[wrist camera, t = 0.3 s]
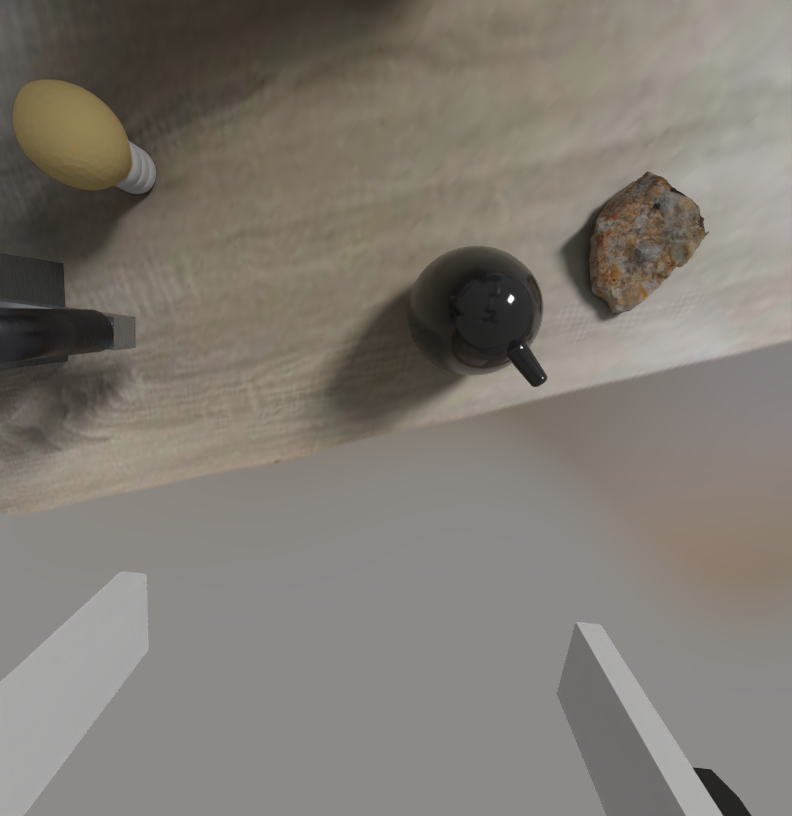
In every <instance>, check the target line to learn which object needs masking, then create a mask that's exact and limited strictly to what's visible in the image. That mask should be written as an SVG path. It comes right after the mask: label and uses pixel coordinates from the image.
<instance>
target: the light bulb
mask: <svg viewBox="0 0 792 816" xmlns="http://www.w3.org/2000/svg"><path fill="white" fill-rule="evenodd" d="M13 125H14V130H15V135H16V138H17V140H18V143H19V145H20V147H21V148H22V150H23V151H24V153H25V154H26V155H27V156H28V157H29V158H30V160H31V161H32V162H33V163H34V164H35V165H36V166H38V167H39V168H40V169H41V170H42V171H44V172H45V173H46V174H48V175H49V176H51V177H52V178H54V179H56V180H58V181H60V182H62V183H63V184H66V185H69V186H71V187H74V188H78V189H82V190H101V189H106V188H109V187H111V186H113V185H114V186H116V187H118V188H120V189H122V190H125V191H127V192H129V193H132V194H143V193H145V192H147V191H149V190H150V189H151V188H152V186H153V185H154V182H155V179H156V169H155V165H154V163H153V161H152V159H151V157H150V156H149V155H148V154H147V153H146V152H145V151H144V150H143V149H141V148H139V147H138V146H136V145H135V144H133V143H132V142H130V141H129V140H128V137H127V135H126V132H125V130H124V128H123V126H122V124H121V123H120V121H119V119H118V118H117V117H116V115H115V114H114V113H113V112H112V111H111V109H110V108H109V107H108V106H107V105H106V104H105V103H104V102H102V101H101V100H100V99H99V98H98V97H97V96H95V95H94V94H92V93H90V92H89V91H87V90H85V89H84V88H82V87H80V86H77V85H74V84H72V83H68V82H65V81H61V80H49V79H44V80H37V81H32V82H30V83H27V84H26V85H25V86H23V87H22V88H21V89H20V91H19V93H18V95H17V96H16V100H15V103H14V108H13Z"/></svg>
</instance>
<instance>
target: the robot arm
mask: <svg viewBox="0 0 792 816" xmlns="http://www.w3.org/2000/svg"><path fill="white" fill-rule="evenodd" d="M148 642H149V641H148V608H147V576H146V574H143V573H133V572H125V571H121V572H119V573H118V574H117V575H116V576H115V577H114V578H113V579H112V580H111V581H110V582H109V583H107V584H106V585H105V586H104V587H103V588H102V589H101V590H100V591H99V592H98V593H96V594H95V595H94V596H93V597H92V598H91V599H90V600H89V601H88V602H87V603H86V604H85V605H83V606H82V607H81V608H80V609H79V610H78V611H77V612H76V613H75V614H74V615H72V617H70V618H69V619H68V620H67V621H66V622H65V623H64V624H63V625H62V626H61V627H59V628H58V629H57V630H56V631H55V632H54V633H53V634H52V635H51V636H50V637H49V638H47V639H46V640H45V641H44V642H43V643H42V644H41V645H40V646H39V647H38V648H37V649H36V650H34V651H33V652H32V653H31V654H30V655H29V656H28V657H27V658H26V659H25V660H23V661H22V662H21V663H20V664H19V665H18V666H17V667H16V668H15V669H14V670H13V671H11V672H10V673H9V674H8V675H7V676H6V677H5V678H4V679H3V680H2V681H1V682H0V816H24V814H25V813H26V812H27V811H28V809H29V808H30V807H31V805H32V804H33V803H34V801H35V800H36V799H37V797H38V796H39V795H40V793H41V792H42V790H43V789H44V788H45V787H46V785H47V784H48V783H49V781H50V780H51V779H52V777H53V776H54V775H55V773H56V772H57V771H58V769H59V768H60V766H61V765H62V764H63V763H64V761H65V760H66V758H67V757H68V756H69V755H70V753H71V752H72V751H73V749H74V748H75V747H76V745H77V744H78V743H79V741H80V740H81V739H82V737H83V736H84V735H85V733H86V732H87V731H88V729H89V728H90V727H91V725H92V724H93V723H94V722H95V720H96V719H97V717H98V716H99V715H100V714H101V712H102V711H103V709H104V708H105V707H106V706H107V704H108V703H109V702H110V700H111V699H112V698H113V696H114V695H115V694H116V692H117V691H118V690H119V688H120V687H121V686H122V684H123V683H124V682H125V680H126V679H127V678H128V676H129V675H130V674H131V672H132V671H133V670H134V668H135V667H136V666H137V664H138V663H139V662H140V660H141V659H142V658H143V656H144V655H145V654H146V652H147V651H148V650H149V643H148ZM557 695H558V698H559V700H560V703H561V705H562V708H563V710H564V713H565V715H566V717H567V720H568V722H569V725H570V727H571V730H572V732H573V735H574V737H575V739H576V742H577V744H578V747H579V749H580V752H581V754H582V757H583V759H584V761H585V764H586V766H587V769H588V771H589V774H590V776H591V778H592V781H593V783H594V786H595V788H596V791H597V793H598V795H599V798H600V801H601V803H602V805H603V808H604V810H605V813H606V815H607V816H751V815H750V813H749V812H748V810H747V809H746V807H745V806H744V804H743V803H742V802H741V800H740V799H739V797H738V796H737V795H736V794H735V793H734V792H733V791H732V790H731V789H730V788H729V787H728V786H727V785H726V784H725V783H724V782H723V781H722V780H721V779H720V778H719V777H718V776H717V775H716V774H715V773H714V772H713V771H712V770H711V769H702V768H693V767H692V766H691V765H690V763H689V762H688V760H687V759H686V757H685V756H684V754H683V753H682V751H681V749H680V748H679V746H678V745H677V743H676V742H675V740H674V739H673V737H672V735H671V734H670V732H669V731H668V729H667V727H666V726H665V724H664V723H663V721H662V720H661V718H660V717H659V715H658V713H657V712H656V710H655V709H654V707H653V706H652V704H651V703H650V701H649V700H648V698H647V696H646V695H645V693H644V692H643V690H642V689H641V687H640V685H639V684H638V682H637V681H636V679H635V678H634V676H633V675H632V673H631V672H630V670H629V668H628V667H627V665H626V664H625V662H624V660H623V659H622V657H621V656H620V654H619V653H618V651H617V650H616V648H615V646H614V645H613V643H612V642H611V640H610V639H609V637H608V636H607V634H606V632H605V631H604V629H603V628H602V626H601V625H599V624H590V623H581V622H576V624H575V627H574V631H573V635H572V638H571V642H570V646H569V650H568V654H567V657H566V661H565V665H564V669H563V672H562V676H561V680H560V684H559V687H558V691H557Z"/></svg>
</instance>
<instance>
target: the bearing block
mask: <svg viewBox="0 0 792 816" xmlns="http://www.w3.org/2000/svg"><path fill="white" fill-rule="evenodd" d="M0 298H4V299H11V300H18V301H25V302H32V303H40V304H47V305H54V306H61V307H65V293H64V273H63V263H57V262H51V261H45V260H38V259H32V258H25V257H19V256H13V255H6V254H0ZM61 361H68V355H67V356H58V357H50V358H41V359H33V360H24V361H16V362H7V363H0V370H1V369H9V368H16V367H24V366H31V365H39V364H46V363H54V362H61Z"/></svg>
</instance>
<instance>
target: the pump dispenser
mask: <svg viewBox="0 0 792 816" xmlns="http://www.w3.org/2000/svg"><path fill="white" fill-rule="evenodd" d="M407 318H408V326H409V330H410V333H411V336H412V339H413V341H414V343H415V345H416V346H417V348H418V349H419V351H420V352H421V353H422V354H423V356H424V357H425V358H426V359H427V360H429V361H430V362H431V363H432V364H434V365H435V366H437V367H439V368H441V369H443V370H445V371H448V372H451V373H454V374H459V375H484V374H489V373H493V372H496V371H499V370H501V369H503V368H505V367H507V366H509V365H511V364H512V363H513V365H514V366H515V367H516V368H517V369H518V370H519V372H520V373H521V374H522V375H523V376H524V377H525V379H526V380H527V381H528V382H529V383H530V384H531V386H533V387H538V386H540V385H541V384H543V383H544V382H545V381H546V380H547V375H546V374H545V372H544V370H543V369H542V367H541V366H540V364H539V363H538V361H537V359H536V358H535V356H534V355H533V353H532V352H531V350H530V348H529V347H530V346H531V344H532V343H533V341H534V340H535V338H536V336H537V334H538V332H539V329H540V326H541V322H542V318H543V298H542V293H541V290H540V287H539V284H538V282H537V280H536V279H535V277H534V275H533V274H532V273H531V271H530V270H529V269H528V268H527V267H526V266H525V265H524V264H523V263H522V262H521V261H519V260H518V259H517V258H515V257H514V256H512V255H511V254H509V253H507V252H505V251H502V250H499V249H496V248H492V247H487V246H468V247H463V248H458V249H455V250H452V251H449V252H447V253H445V254H443V255H441V256H440V257H438V258H437V259H435V260H434V261H433V262H432V263H430V264H429V265H428V266H427V267H426V268H425V269H424V271H423V272H422V273H421V274H420V276H419V277H418V279H417V280H416V282H415V284H414V286H413V289H412V291H411V294H410V298H409V302H408V310H407Z"/></svg>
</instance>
